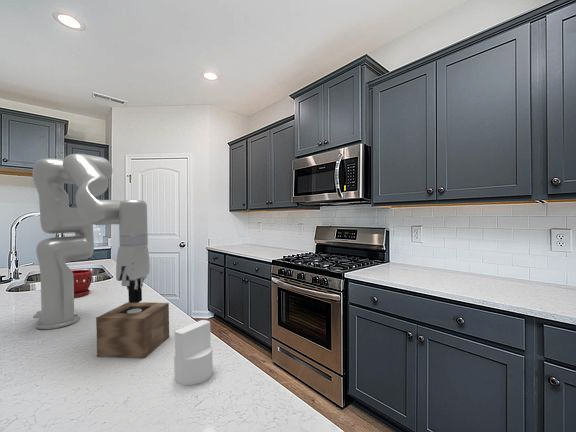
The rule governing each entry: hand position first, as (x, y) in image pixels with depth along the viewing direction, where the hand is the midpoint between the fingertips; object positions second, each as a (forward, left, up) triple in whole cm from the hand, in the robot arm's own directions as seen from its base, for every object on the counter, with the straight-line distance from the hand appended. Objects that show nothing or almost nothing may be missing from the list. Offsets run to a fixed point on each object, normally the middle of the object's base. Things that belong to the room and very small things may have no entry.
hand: (135, 301), depth 88 cm
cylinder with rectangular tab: (+24, -14, -14) cm, 31 cm away
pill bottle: (0, 0, -13) cm, 13 cm away
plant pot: (-63, +51, -14) cm, 82 cm away
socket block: (0, 0, -14) cm, 14 cm away
